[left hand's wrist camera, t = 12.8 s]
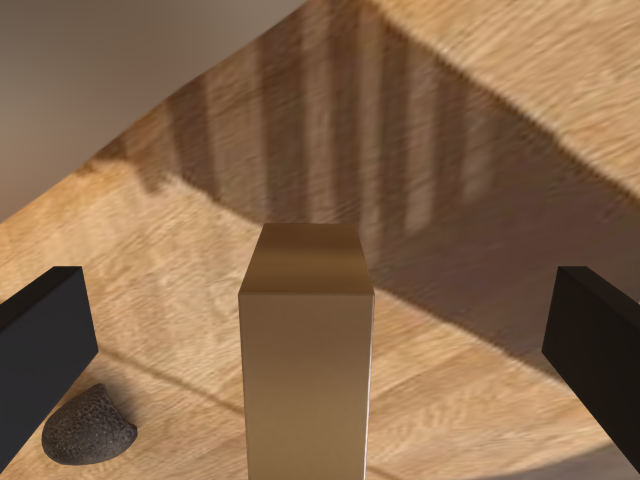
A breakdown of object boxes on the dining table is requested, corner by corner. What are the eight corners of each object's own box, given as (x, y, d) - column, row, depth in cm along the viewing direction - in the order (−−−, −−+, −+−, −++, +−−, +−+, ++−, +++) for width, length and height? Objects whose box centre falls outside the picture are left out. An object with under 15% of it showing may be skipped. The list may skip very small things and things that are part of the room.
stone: (155, 383, 58) (96, 375, 49) (153, 456, 54) (90, 461, 46) (93, 397, 60) (26, 391, 52) (87, 467, 57) (15, 474, 48)
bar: (264, 222, 23) (237, 292, 15) (355, 223, 23) (375, 293, 15) (275, 555, 31) (261, 713, 23) (343, 555, 31) (353, 713, 23)
